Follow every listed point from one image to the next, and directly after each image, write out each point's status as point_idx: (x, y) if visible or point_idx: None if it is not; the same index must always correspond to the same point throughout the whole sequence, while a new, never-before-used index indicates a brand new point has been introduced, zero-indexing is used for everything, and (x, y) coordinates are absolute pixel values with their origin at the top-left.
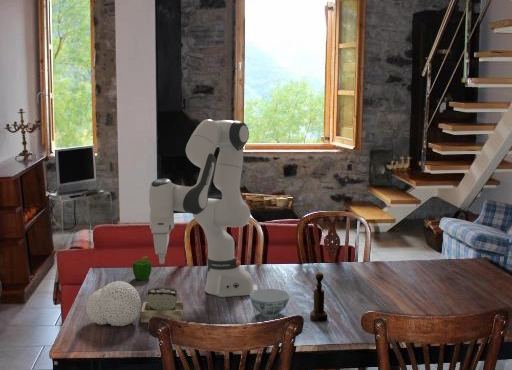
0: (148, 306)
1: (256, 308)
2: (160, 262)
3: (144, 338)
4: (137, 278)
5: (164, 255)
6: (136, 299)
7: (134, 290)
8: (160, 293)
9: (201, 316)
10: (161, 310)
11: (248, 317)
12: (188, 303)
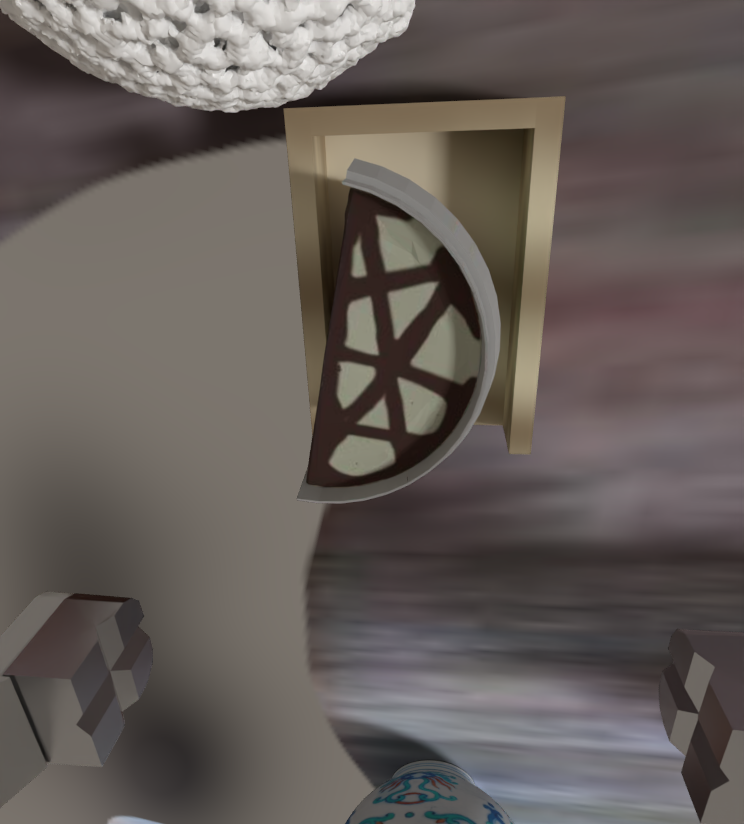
0: (528, 153)
1: (385, 788)
2: (38, 622)
3: (5, 187)
4: None
5: (671, 701)
6: (104, 68)
7: (138, 8)
8: (329, 336)
9: (421, 519)
10: (318, 301)
11: (394, 714)
12: (704, 445)
